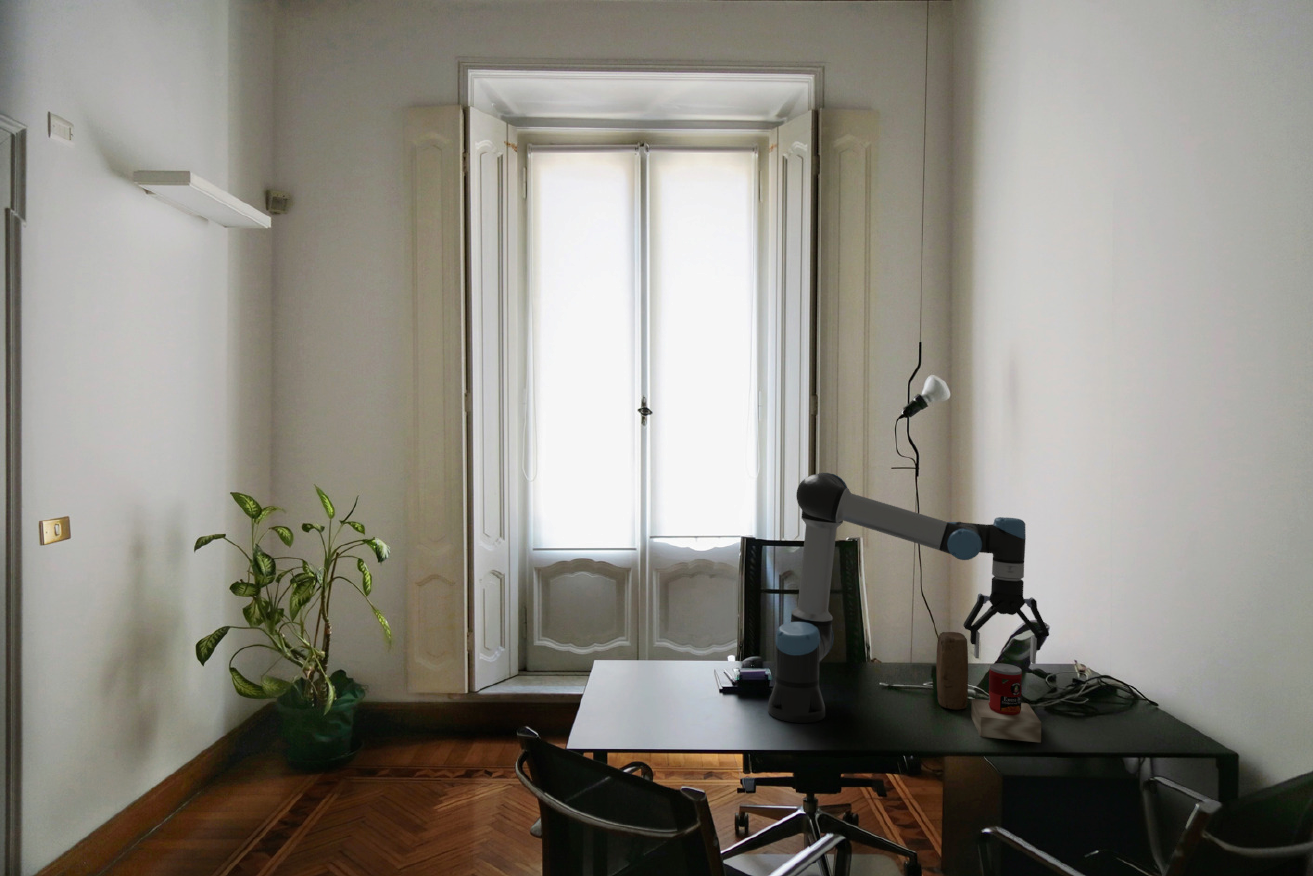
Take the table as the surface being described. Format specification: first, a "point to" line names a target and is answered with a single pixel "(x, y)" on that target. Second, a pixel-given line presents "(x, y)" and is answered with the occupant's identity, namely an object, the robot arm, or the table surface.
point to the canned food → (1005, 688)
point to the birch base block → (1006, 723)
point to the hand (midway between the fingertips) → (1004, 659)
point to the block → (952, 670)
